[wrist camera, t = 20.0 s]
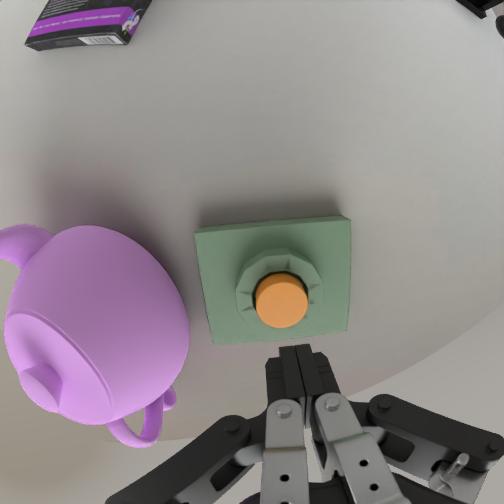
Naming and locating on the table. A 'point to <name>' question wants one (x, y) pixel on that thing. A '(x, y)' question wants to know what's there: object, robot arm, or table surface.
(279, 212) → the table surface
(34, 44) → the box
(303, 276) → the control block
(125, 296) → the teapot
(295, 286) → the button
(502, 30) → the lever
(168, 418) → the table surface
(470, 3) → the black lever mount
